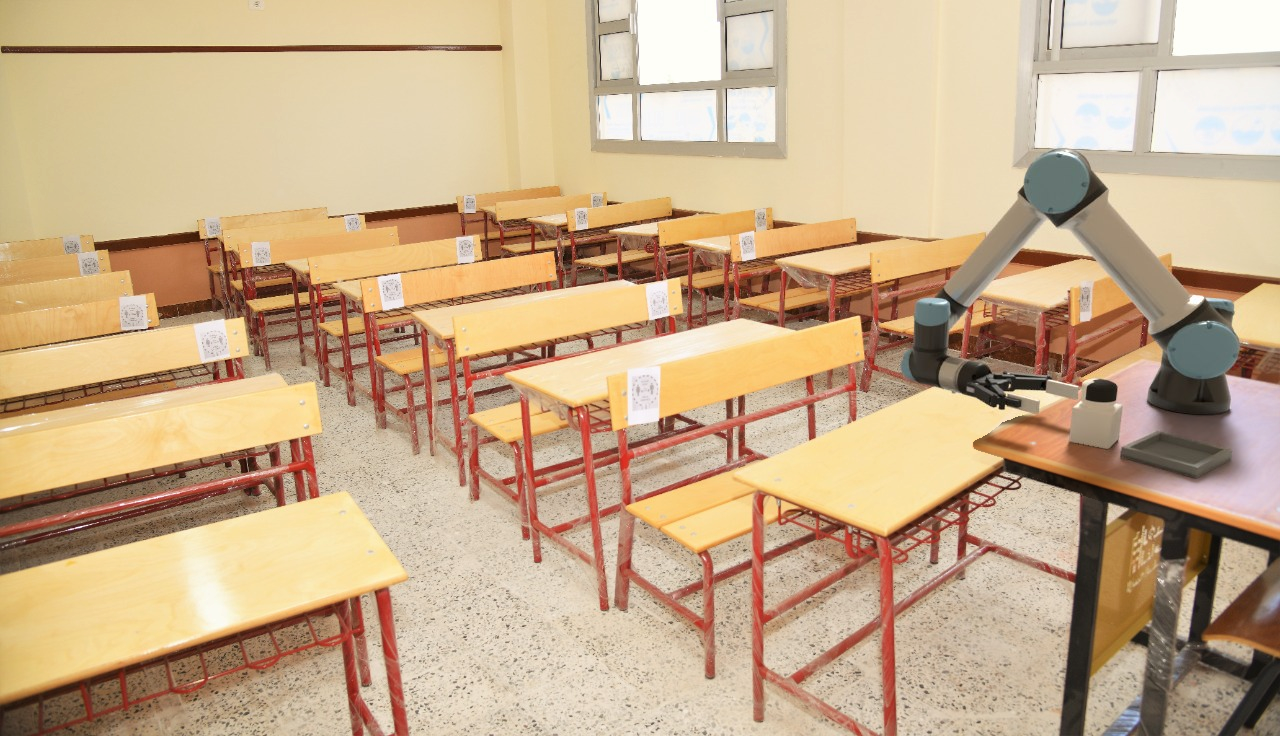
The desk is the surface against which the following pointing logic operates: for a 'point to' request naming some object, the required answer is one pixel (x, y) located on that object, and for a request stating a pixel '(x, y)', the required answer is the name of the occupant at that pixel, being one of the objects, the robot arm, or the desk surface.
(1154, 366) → the desk surface
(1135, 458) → the bottle tray
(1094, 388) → the medicine bottle
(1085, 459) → the desk surface
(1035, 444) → the desk surface
